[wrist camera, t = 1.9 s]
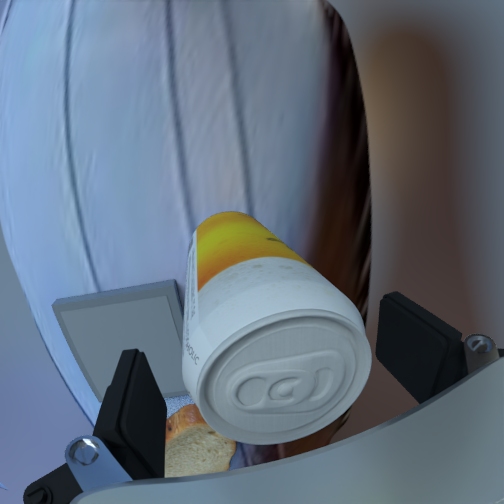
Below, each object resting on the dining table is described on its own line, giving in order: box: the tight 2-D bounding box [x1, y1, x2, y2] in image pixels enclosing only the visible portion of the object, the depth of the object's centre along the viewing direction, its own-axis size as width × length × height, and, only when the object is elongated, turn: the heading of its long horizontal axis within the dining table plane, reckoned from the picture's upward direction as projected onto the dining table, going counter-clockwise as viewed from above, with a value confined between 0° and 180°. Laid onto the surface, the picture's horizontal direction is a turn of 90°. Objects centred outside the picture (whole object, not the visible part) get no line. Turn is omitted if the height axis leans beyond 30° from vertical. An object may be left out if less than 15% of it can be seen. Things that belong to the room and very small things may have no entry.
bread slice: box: [165, 404, 237, 478], centre depth 26 cm, size 18×18×4 cm
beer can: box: [182, 211, 372, 445], centre depth 14 cm, size 6×6×15 cm
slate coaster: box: [51, 279, 189, 402], centre depth 21 cm, size 11×11×1 cm
